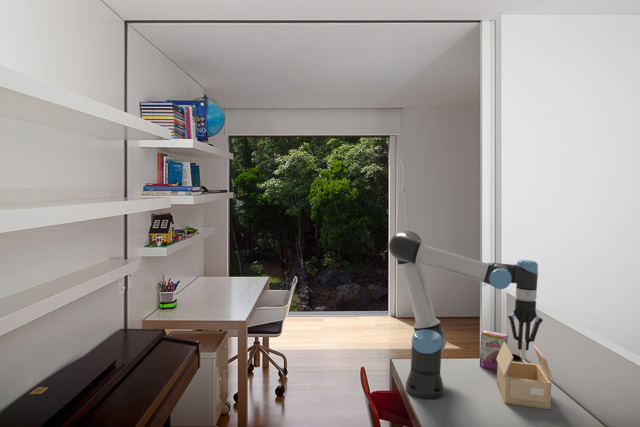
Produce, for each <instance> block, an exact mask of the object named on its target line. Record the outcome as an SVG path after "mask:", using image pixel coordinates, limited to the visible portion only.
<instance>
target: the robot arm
mask: <svg viewBox="0 0 640 427" xmlns="http://www.w3.org/2000/svg"><path fill="white" fill-rule="evenodd" d="M388 250H389V252H390V255H391V256H393V257H394V259H396V262H397V265H398V266H399V267H401V268H402V271H403V276H404V279H405V284H406V286H407V291H408V296H409V300H410V304H411V309H412V312H413V315H414V320H415V323H414V325H413V330H414V332H413V334H412V336H411V353H410V354H411V356H410V370H409V374H408V376H407V379H406V381H405V391H406V392H407V393H408V394H409V395H411V396H413V397H416V398H420V399H424V400H435V399H437V400H438V399H440V398H442V397H443V396H444V395H445V386H444V382H443V379H442V376H441V368H442V367H441V365H442V364H441V363H442V354H443V351H444V349H445V347H446V344H447V336H446V333H445V331H444V329H443V327H442V324H441V323H442V322H441V320H439V319H438V318H436V313H435V310H434V307H433V306H434V305H433V303H432V302H433V301H432V299H431V294H430V290H429V286H428V282H427V279H426V274H425V270H424V267H423V265H426V266H428V267H431V268H434V269H438V270H442V271H444V272H447V273H452V274H455V275H458V276H461V277H464V278H468V279H471V280H475V281H477V282H480V283H481V282H482V283H483V284H486V285H490V286H492V287H494V288H495V289H498V290H505V289H506V288H508V287H509V286H510V284H516V287H515V288H516V289H515V300H514V301H515V302H514V306H515V307H514V311H513V313H511V314H509V313H508V314H506V315H507V318H508V320H509V322H510V323H509V324H510V327H511V332H512V338H514V341H517V349H518V350H520V351H519V356H520V357H521V359H522V360H526V355H527V354H526V353H527V351H529V348H530V343H531V342H535V339H536V336H537V334H538V332H539V331H538V330H539V328H540V325H541V324H542V322H543V321H544V320H543V318H542V317H540V316H538V314H537V311H536V310H537V301H536V300H537V290H538V289H537V288H538V280H539V279H538V277H539V264H538V262H536V261H535V260H528V259H519V260H518V261H517V263H515V264H509V263H502V262H501V263H500V262H499V263H497V262H483V261H481V260H477V259H474V258H471V257H466V256H465V255H464V256H463V255H460V254H457V253H453V252H450V251H446V250H443V249H440V248H436V247H433V246H429V245H426V244H425V242H424V241H422V239H421V237H420V236H419V235H418V234H417V233H416V232H414V231H412V230H411V231H410V230H405V231H401V232H399V233H396V234H395V235H393V236H392V237H391V239H390V241H389V243H388ZM515 319H517V321H518V328H517V329H518V330H517V329H516V323H515V321H514V320H515ZM534 320H535V321H534ZM533 321H534V324H533V325H532V326H533V327H532V330H531V323H532V322H533ZM524 324H525V326H524ZM524 328H525V331H524ZM523 334H524V336H523ZM523 337H524V340H523Z"/></svg>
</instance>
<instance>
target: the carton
mask: <svg viewBox="0 0 640 427" xmlns="http://www.w3.org/2000/svg"><path fill="white" fill-rule="evenodd" d="M496 371H497V372H496V385H497V388H498V390H499V394H500V395H501V398H502V400H503V402H504V405H511V406H512V405H513V406H519V407H527V408H535V409H541V410H542V409H543V410H551V399H552V398H551V397H552V381H551V379H550V378H549V377H548V375H547V374H546V372H545V371H544V369H543V368H542V366H541V365H540V363H531V362H530V363H528V362H524V363H522V362H513V361H512V362H511V364H510V366H509V369H508V371H507V373H506V375H505V376H504V375H503V373H502V371H501V368H500V366H499V364H498V367H497V370H496Z"/></svg>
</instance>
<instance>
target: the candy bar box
mask: <svg viewBox="0 0 640 427" xmlns="http://www.w3.org/2000/svg"><path fill="white" fill-rule="evenodd" d="M480 340H481V341H480V355H479V356H480V357H479V367H481V368H485V369H490V370H493V371H497V367H498V362H497V359H496V358H497V356H498V354H499V351H500V349H501V347H502V345H503V343H504V342H505V343H506V345H507V347H508V346H509V345H508V344H509V334H505V333H500V332H495V331H489V330H486V329H485V330H482V332H481V338H480ZM508 348H509V347H508Z"/></svg>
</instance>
